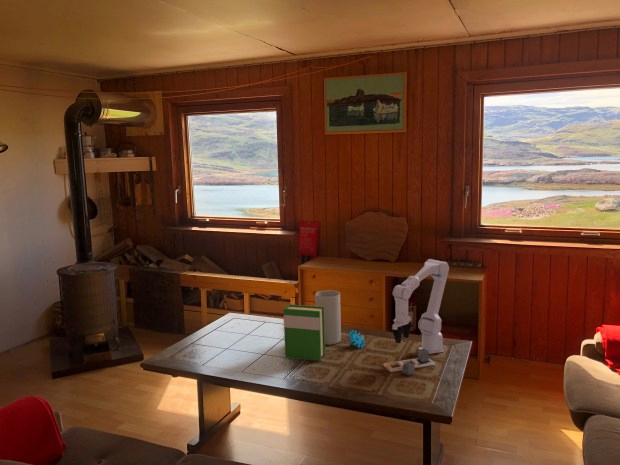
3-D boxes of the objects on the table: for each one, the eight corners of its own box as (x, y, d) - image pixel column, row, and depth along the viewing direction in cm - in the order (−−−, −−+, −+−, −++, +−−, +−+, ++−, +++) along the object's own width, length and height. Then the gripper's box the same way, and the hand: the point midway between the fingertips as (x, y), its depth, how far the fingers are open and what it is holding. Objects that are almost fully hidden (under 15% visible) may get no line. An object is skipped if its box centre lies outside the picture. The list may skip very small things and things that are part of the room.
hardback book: (325, 355, 245) (323, 306, 242) (320, 361, 238) (319, 311, 235) (290, 351, 251) (289, 304, 247) (285, 357, 244) (283, 308, 240)
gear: (357, 348, 248) (346, 331, 252) (350, 354, 251) (339, 337, 255) (370, 344, 256) (359, 327, 261) (363, 350, 259) (352, 334, 264)
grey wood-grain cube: (408, 370, 225) (408, 362, 225) (414, 373, 222) (414, 365, 222) (402, 372, 223) (402, 364, 223) (408, 375, 220) (408, 366, 220)
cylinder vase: (320, 346, 256) (318, 298, 252) (314, 337, 268) (312, 291, 264) (344, 343, 259) (343, 295, 255) (337, 335, 271) (336, 289, 267)
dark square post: (424, 361, 235) (424, 348, 234) (428, 364, 231) (428, 351, 230) (417, 362, 234) (417, 349, 233) (421, 365, 230) (421, 352, 229)
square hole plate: (427, 359, 237) (427, 356, 237) (435, 364, 230) (435, 362, 230) (383, 366, 231) (383, 363, 231) (390, 372, 224) (390, 369, 224)
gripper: (401, 306, 240) (401, 333, 242) (386, 314, 228) (386, 343, 231) (415, 308, 235) (415, 336, 238) (400, 317, 224) (400, 346, 226)
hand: (402, 340), depth 234 cm, fingers open, 7 cm apart
